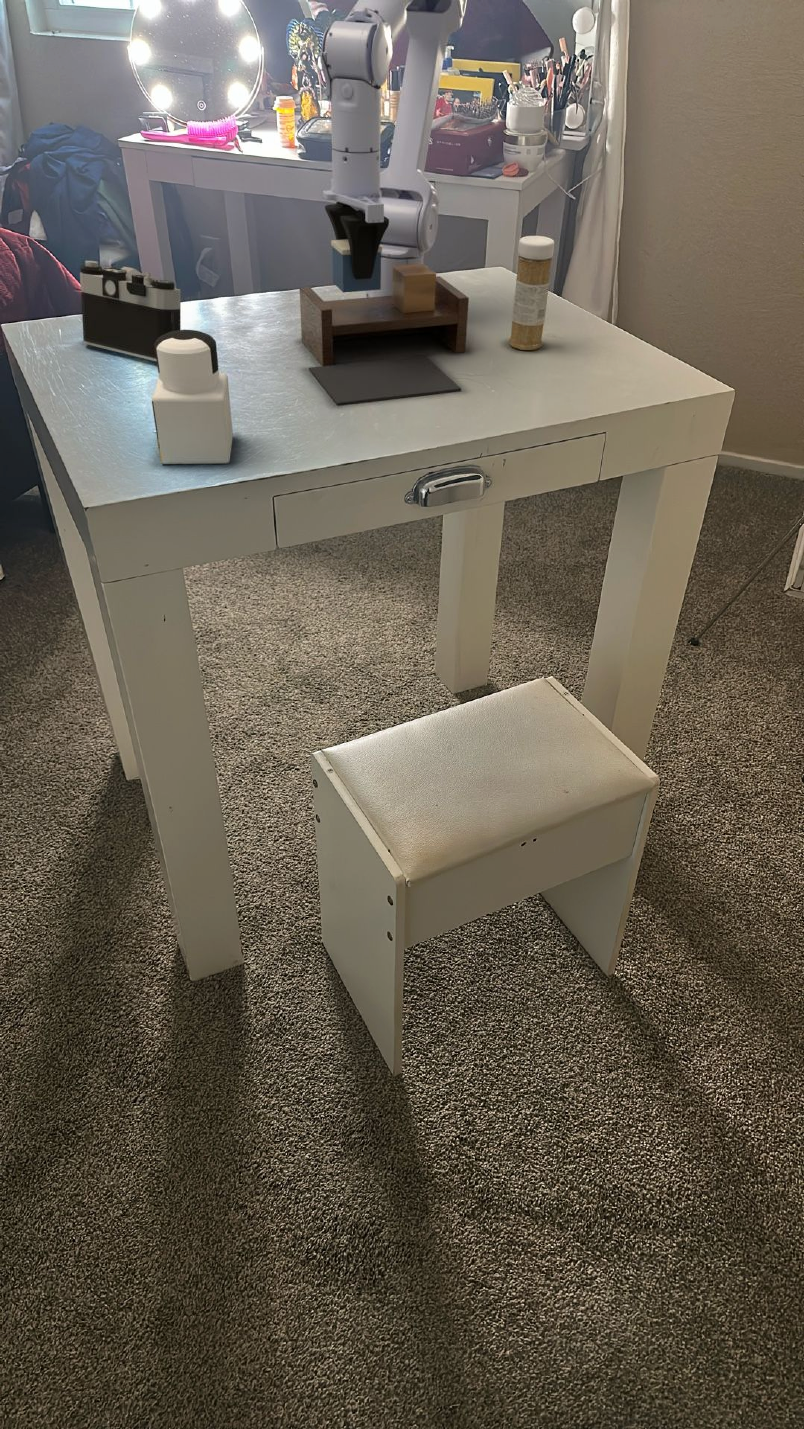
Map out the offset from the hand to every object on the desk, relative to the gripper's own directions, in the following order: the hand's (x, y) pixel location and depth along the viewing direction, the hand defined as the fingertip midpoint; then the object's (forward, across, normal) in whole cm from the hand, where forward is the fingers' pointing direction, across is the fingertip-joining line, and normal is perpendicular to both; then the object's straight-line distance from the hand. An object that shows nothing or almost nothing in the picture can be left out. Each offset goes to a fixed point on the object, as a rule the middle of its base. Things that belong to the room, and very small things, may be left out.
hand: (356, 272), depth 118 cm
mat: (+10, +11, 0) cm, 15 cm away
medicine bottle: (+10, +24, -26) cm, 37 cm away
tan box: (+5, 0, +8) cm, 9 cm away
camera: (+10, -10, -26) cm, 30 cm away
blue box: (+2, 0, 0) cm, 2 cm away
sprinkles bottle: (+10, +4, +23) cm, 25 cm away
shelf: (+10, -1, +4) cm, 11 cm away
